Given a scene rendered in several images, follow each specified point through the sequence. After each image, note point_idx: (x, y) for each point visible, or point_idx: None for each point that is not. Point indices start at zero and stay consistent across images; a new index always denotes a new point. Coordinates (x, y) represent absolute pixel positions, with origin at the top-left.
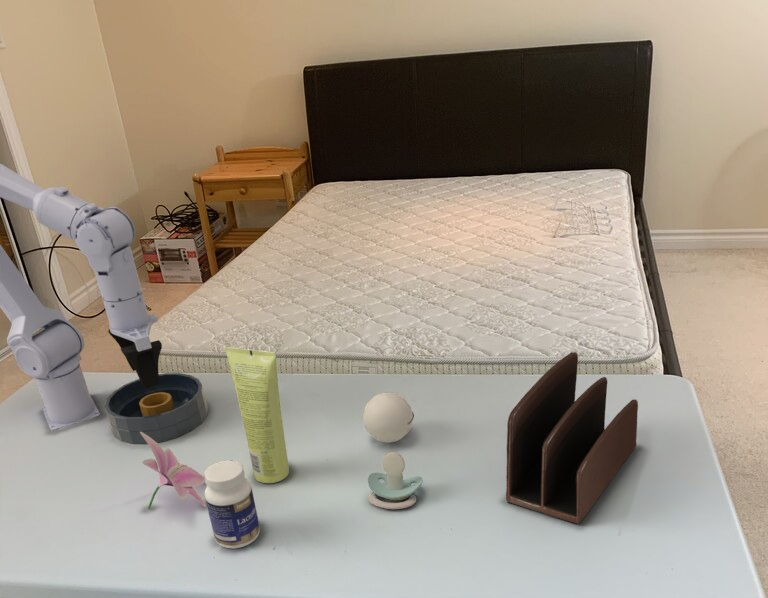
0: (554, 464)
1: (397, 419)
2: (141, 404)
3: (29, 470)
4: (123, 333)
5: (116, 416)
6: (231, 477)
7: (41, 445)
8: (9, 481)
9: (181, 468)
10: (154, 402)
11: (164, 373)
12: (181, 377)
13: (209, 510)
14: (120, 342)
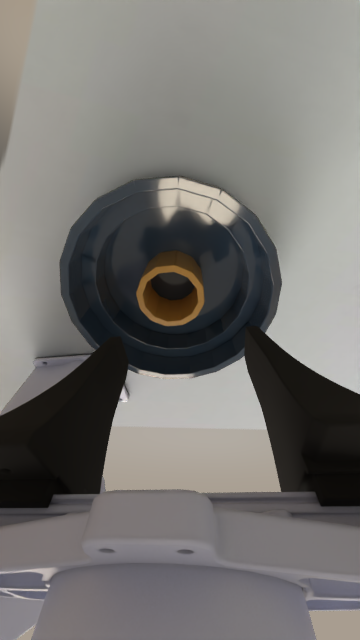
0: None
1: None
2: (176, 323)
3: (206, 415)
4: (320, 609)
5: (219, 369)
6: None
7: (154, 406)
8: (216, 428)
9: None
10: (146, 291)
11: (60, 265)
12: (89, 225)
13: None
14: (101, 453)
